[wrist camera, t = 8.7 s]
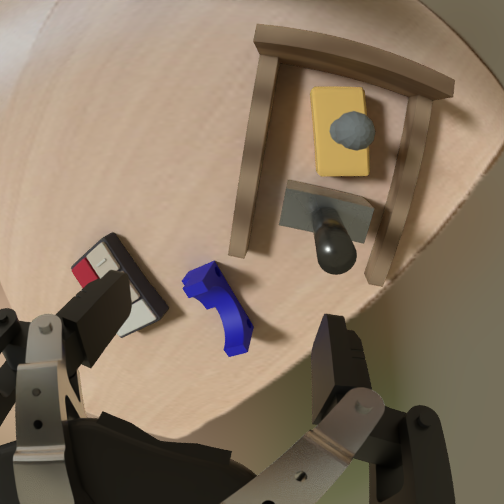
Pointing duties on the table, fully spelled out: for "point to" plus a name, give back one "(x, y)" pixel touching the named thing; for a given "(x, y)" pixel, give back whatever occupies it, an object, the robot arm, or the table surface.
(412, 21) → the table surface
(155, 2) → the table surface
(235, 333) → the blue pipe saddle
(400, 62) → the frame
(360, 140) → the rubber stamp
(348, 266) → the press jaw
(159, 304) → the calculator
